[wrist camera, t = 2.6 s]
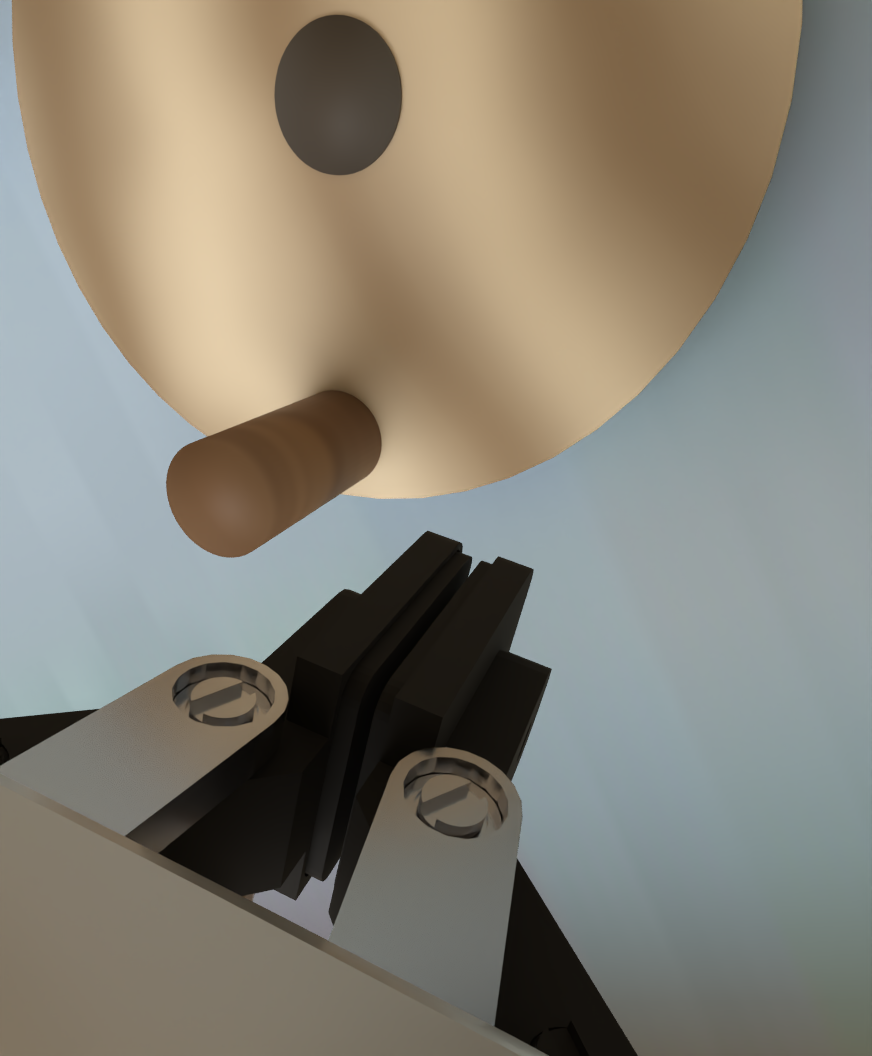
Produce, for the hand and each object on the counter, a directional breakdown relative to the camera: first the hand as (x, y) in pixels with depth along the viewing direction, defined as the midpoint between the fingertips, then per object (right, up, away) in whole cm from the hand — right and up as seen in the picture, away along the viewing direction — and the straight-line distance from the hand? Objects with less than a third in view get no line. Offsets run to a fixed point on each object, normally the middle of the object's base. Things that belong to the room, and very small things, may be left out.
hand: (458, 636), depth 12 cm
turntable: (-2, +11, +6) cm, 13 cm away
